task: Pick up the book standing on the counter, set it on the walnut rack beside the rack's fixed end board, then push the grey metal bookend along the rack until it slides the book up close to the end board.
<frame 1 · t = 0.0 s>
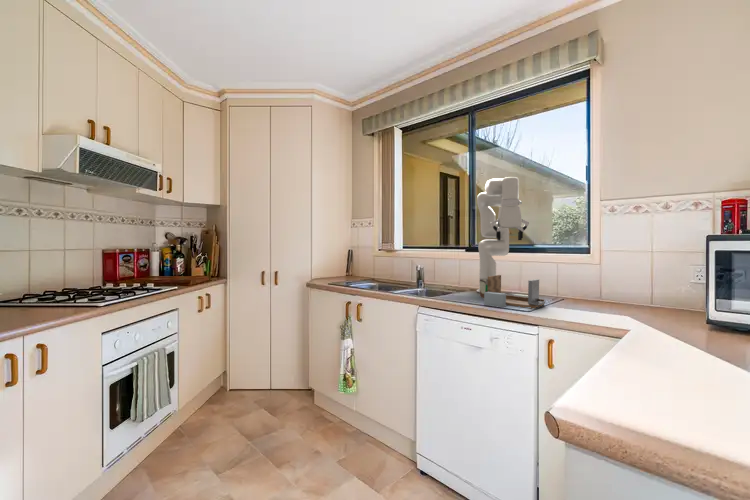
hand: (509, 240, 165), 31 cm above the counter, tool pointing down, fingers open, 9 cm apart
book: (494, 305, 167), on the counter
bookend: (537, 291, 164), point 7 cm above the counter, slide at 0.0 cm
rack: (515, 303, 171), on the counter
food container: (488, 298, 189), on the counter
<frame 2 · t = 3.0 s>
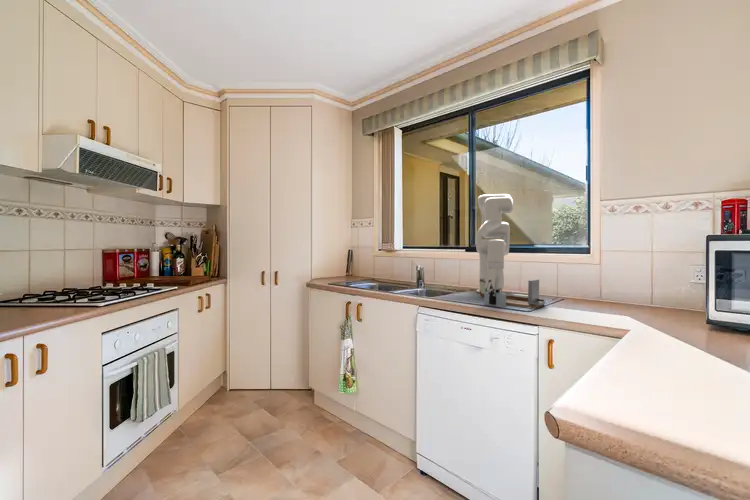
hand: (494, 303, 167), 1 cm above the counter, tool pointing down, fingers closed on book, 4 cm apart
book: (494, 305, 167), on the counter, touching gripper
everything else where it was.
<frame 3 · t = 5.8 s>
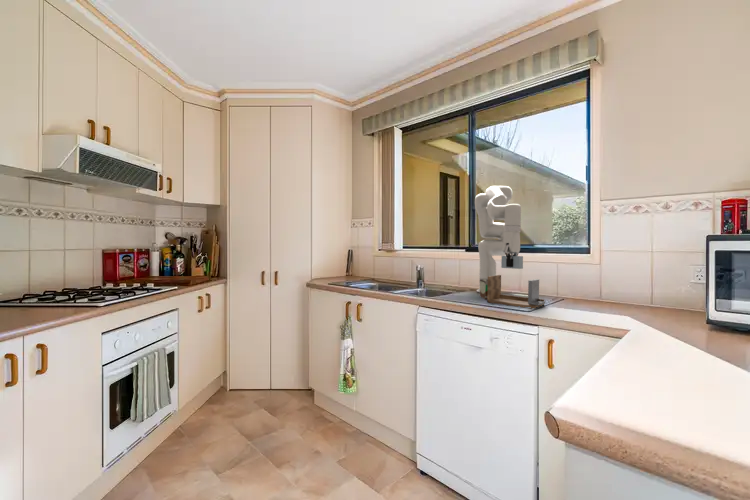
hand: (511, 266, 172), 18 cm above the counter, tool pointing down, fingers closed on book, 4 cm apart
book: (512, 268, 172), point 17 cm above the counter, touching gripper
everything else where it was.
when the fingers open (3 cm above the counter, at t = 8.8 s): book stays where it is, resting on rack.
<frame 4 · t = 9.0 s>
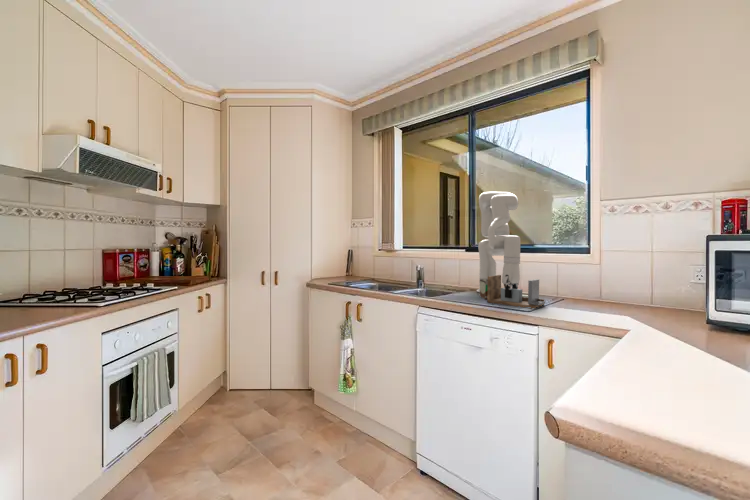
hand: (511, 296, 173), 3 cm above the counter, tool pointing down, fingers open, 6 cm apart
book: (511, 300, 173), point 1 cm above the counter, touching rack
everything else where it was.
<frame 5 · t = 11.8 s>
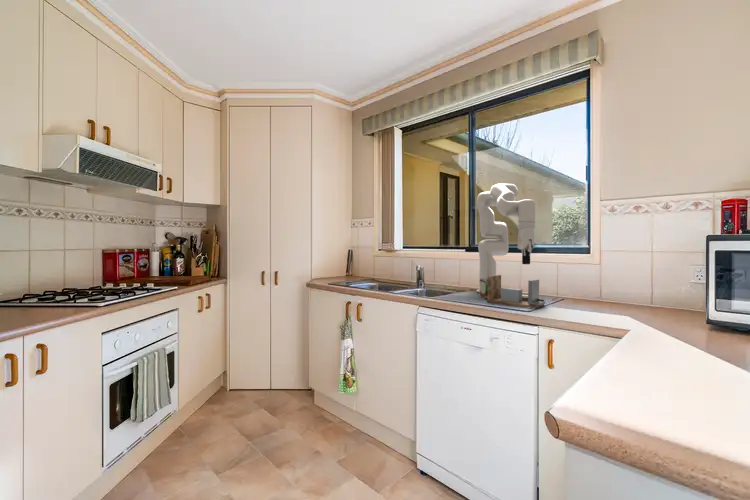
hand: (526, 264, 167), 20 cm above the counter, tool pointing down, fingers closed
nothing on the counter moved.
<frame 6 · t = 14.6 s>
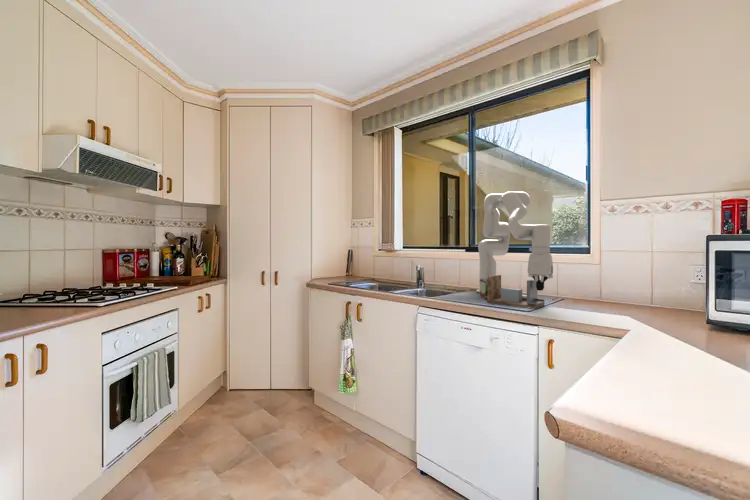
hand: (540, 290, 163), 8 cm above the counter, tool pointing down, fingers closed
bookend: (535, 291, 164), point 7 cm above the counter, slide at 0.7 cm, touching gripper
everything else where it was.
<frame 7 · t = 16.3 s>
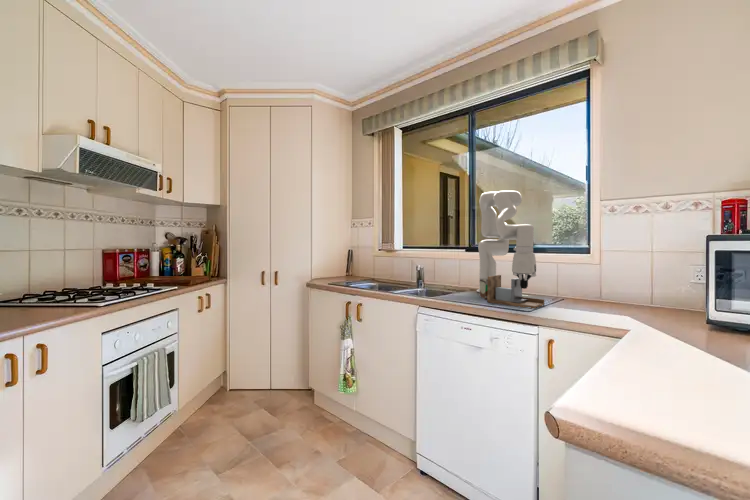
hand: (523, 288, 168), 8 cm above the counter, tool pointing down, fingers closed
book: (506, 300, 175), point 1 cm above the counter, touching bookend, rack
bookend: (519, 290, 170), point 7 cm above the counter, slide at 8.2 cm, touching book, gripper
everything else where it was.
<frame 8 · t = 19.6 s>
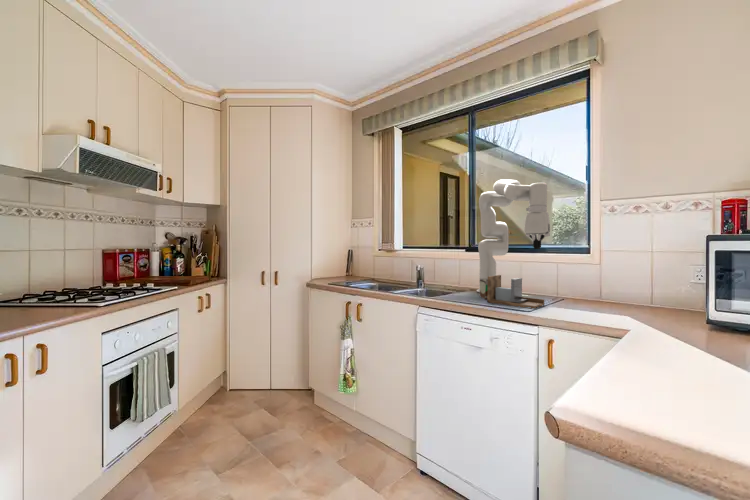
hand: (537, 249, 164), 27 cm above the counter, tool pointing down, fingers closed
bookend: (519, 290, 170), point 7 cm above the counter, slide at 8.2 cm, touching book
everything else where it was.
at the end: book inside the target area on the rack (0.5 cm from its centre), point 1.2 cm above the rack's base; book tilted 0°; bookend slide at 8.2 cm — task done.
